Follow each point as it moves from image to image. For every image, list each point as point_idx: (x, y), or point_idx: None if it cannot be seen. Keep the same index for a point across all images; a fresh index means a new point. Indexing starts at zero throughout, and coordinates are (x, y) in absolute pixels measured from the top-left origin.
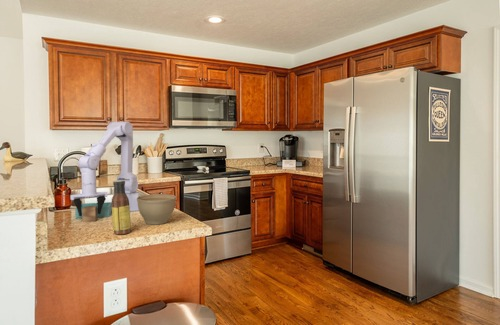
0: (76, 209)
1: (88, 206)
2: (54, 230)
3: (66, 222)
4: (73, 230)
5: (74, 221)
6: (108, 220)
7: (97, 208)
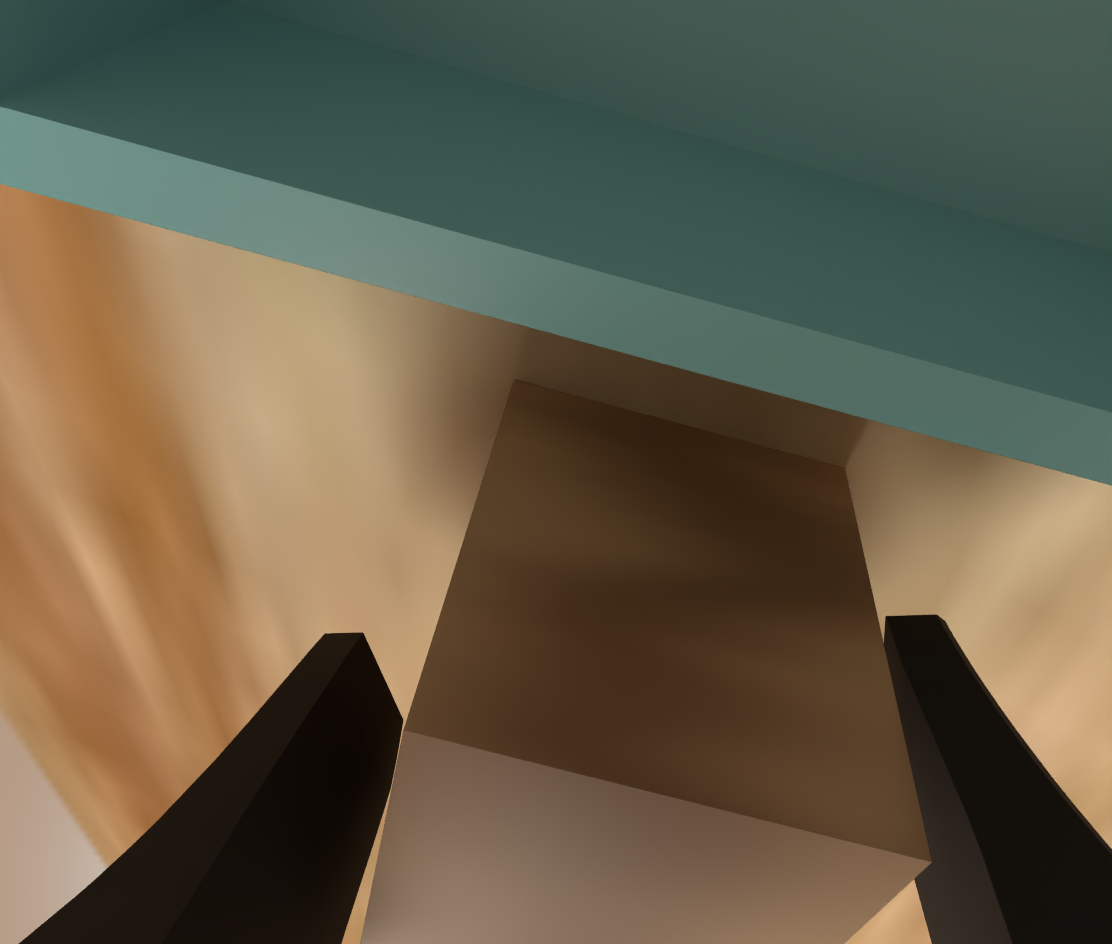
0: (26, 162)
1: (565, 819)
2: (93, 812)
3: (84, 438)
4: (354, 910)
5: (256, 434)
6: (1010, 719)
7: (1057, 434)
